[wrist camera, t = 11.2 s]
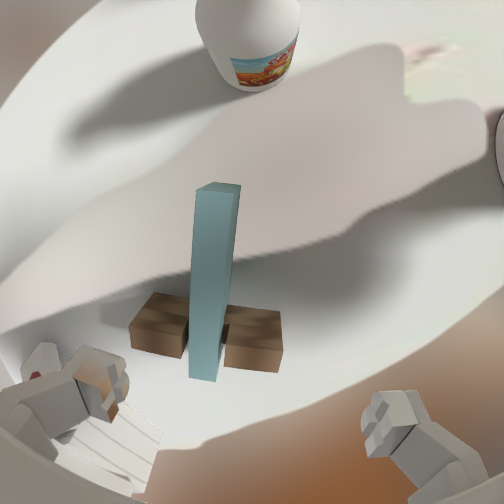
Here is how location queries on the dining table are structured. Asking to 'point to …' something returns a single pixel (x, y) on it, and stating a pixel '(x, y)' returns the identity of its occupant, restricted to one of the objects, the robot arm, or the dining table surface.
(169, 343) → the brown wooden angled block
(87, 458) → the pizza boxes
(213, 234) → the plank
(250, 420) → the dining table surface
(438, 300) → the dining table surface
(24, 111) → the dining table surface
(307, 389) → the dining table surface
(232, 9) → the milk bottle
